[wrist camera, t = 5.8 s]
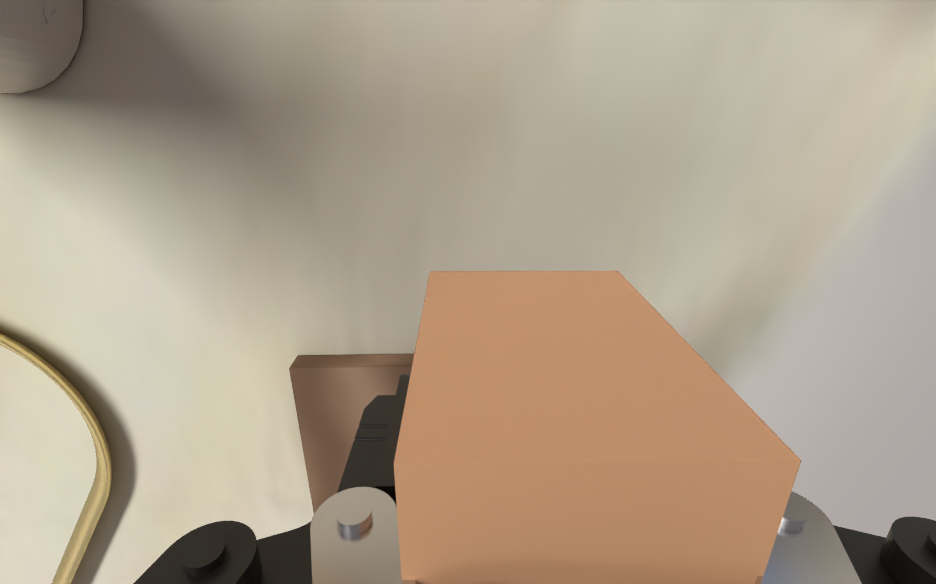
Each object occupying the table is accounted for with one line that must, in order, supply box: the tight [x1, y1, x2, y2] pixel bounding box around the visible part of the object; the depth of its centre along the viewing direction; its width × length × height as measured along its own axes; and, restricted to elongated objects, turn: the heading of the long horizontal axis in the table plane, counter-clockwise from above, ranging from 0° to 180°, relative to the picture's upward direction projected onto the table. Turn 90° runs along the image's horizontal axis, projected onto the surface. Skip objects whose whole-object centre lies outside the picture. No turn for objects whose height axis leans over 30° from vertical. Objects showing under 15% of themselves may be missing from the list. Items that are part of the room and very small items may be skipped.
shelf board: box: [289, 354, 414, 514], centre depth 30 cm, size 14×19×3 cm
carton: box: [394, 271, 801, 584], centre depth 9 cm, size 5×6×6 cm
